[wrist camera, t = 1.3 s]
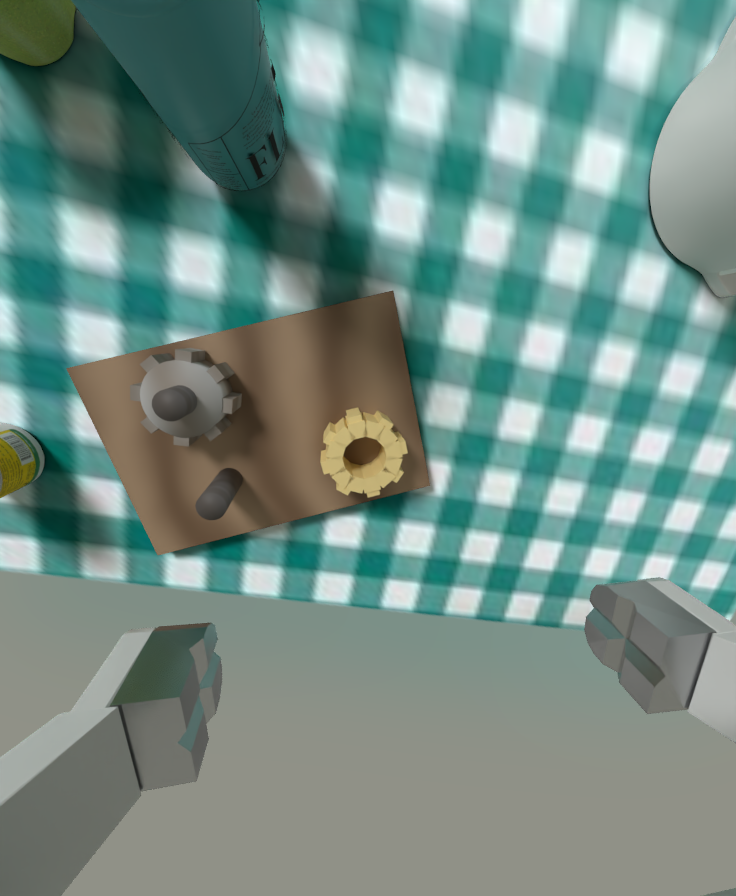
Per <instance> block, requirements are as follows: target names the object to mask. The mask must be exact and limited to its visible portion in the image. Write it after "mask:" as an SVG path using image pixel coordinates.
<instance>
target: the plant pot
mask: <svg viewBox="0 0 736 896" xmlns="http://www.w3.org/2000/svg"><path fill="white" fill-rule="evenodd" d="M75 10H76V6H75V5H74V4H73V2H72V1H71V0H0V54H2V55H4V56H6V57H9V58H11V59H13V60H16V61H19V62H22V63H25V64H28V65H32V66H42V65H47V64H50V63H52V62H54V61H56V60H58V59H59V58H61V57H62V56H63V55H64V54H65V53H66V51H67V50H68V49H69V47H70V46H71V44H72V41H73V27H74V15H75Z"/></svg>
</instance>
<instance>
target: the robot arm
mask: <svg viewBox="0 0 736 896" xmlns="http://www.w3.org/2000/svg"><path fill="white" fill-rule="evenodd" d="M650 203H651V210H652V215H653V219H654V223H655V226H656V229H657V231H658V233H659V235H660V237H661V239H662V241H663V243H664V244H665V246H666V247H667V248H668V249H669V251H670V252H671V253H672V254H673V255H674V256H675V257H677V258H678V259H679V260H680V261H682V262H683V263H685V264H687V265H689V266H691V267H693V268H694V269H696V270H697V271H699V272H700V273H701V274H702V275H703V277H704V278H705V280H706V282H707V284H708V285H709V287H710V288H711V290H712V291H713V292H714V294H715V295H717V296H718V297H722V298H724V297H729V296H734V295H736V17H735V18H734V20H733V22H732V23H731V25H730V27H729V29H728V31H727V33H726V35H725V37H724V39H723V41H722V43H721V45H720V47H719V49H718V51H717V53H716V55H715V56H714V57H713V59H712V60H711V61H710V62H709V64H708V65H707V66H706V67H705V68H704V69H703V70H702V71H701V72H700V73H699V74H698V75H697V76H696V77H695V79H694V80H693V81H692V82H691V83H690V84H689V85H688V86H687V88H686V89H685V90H684V92H683V93H682V94H681V96H680V97H679V99H678V100H677V102H676V103H675V105H674V107H673V108H672V110H671V112H670V114H669V116H668V118H667V119H666V122H665V124H664V126H663V128H662V131H661V133H660V136H659V139H658V142H657V145H656V149H655V152H654V157H653V161H652V167H651V175H650ZM590 602H591V604H592V605H593V607H594V609H593V610H592V611H591V612H590V613H589V614H588V616H587V617H586V622H585V629H584V630H585V634H586V637H587V641H588V644H589V646H590V648H591V649H592V651H593V653H594V654H595V655H596V657H597V658H598V659H599V660H600V661H601V663H602V664H604V665H606V666H607V667H609V668H611V669H613V670H614V671H616V672H618V678H619V683H620V684H621V685H622V686H623V687H624V688H625V690H626V691H627V692H628V693H629V694H630V695H631V696H632V697H633V699H634V700H635V701H636V702H637V703H638V704H639V705H640V706H641V708H642V709H643V710H644V711H645V712H646V713H647V714H651V713H659V712H669V711H677V710H686V709H688V713H690V714H692V715H693V716H695V717H696V718H698V719H699V720H701V721H702V722H704V723H705V724H707V725H708V726H710V727H711V728H713V729H714V730H716V731H718V732H719V733H720V734H722V735H724V736H725V737H727V738H728V739H730V740H731V741H733V742H734V743H736V625H735V624H733V623H732V622H730V621H729V620H727V619H726V618H724V617H723V616H721V615H720V614H718V613H717V612H715V611H714V610H712V609H711V608H709V607H708V606H706V605H705V604H703V603H702V602H700V601H699V600H698V599H696V598H695V597H693V596H692V595H690V594H689V593H687V592H686V591H684V590H683V589H681V588H680V587H678V586H677V585H675V584H674V583H672V582H671V581H669V580H666V579H663V578H660V577H658V578H650V579H642V580H637V581H628V582H619V583H609V584H600V585H596V586H595V587H594V588H593V590H592V591H591V596H590ZM217 640H218V638H217V633H216V628H215V625H214V624H213V623H202V624H188V625H175V626H161V627H158V628H156V627H155V628H141V629H131V630H129V631H128V632H126V633H125V634H123V635H122V637H121V638H120V640H119V641H118V642H117V644H116V645H115V647H114V648H113V650H112V651H111V653H110V654H109V656H108V657H107V659H106V660H105V662H104V663H103V665H102V666H101V667H100V669H99V671H98V672H97V673H96V675H95V677H94V678H93V679H92V681H91V682H90V684H89V685H88V687H87V688H86V690H85V691H84V693H83V694H82V695H81V697H80V698H79V700H78V701H77V703H76V704H75V706H74V707H73V709H72V710H71V712H67V713H60V714H59V715H57V716H56V717H55V718H53V719H52V720H50V721H49V722H48V723H47V724H45V725H44V726H42V727H41V728H40V729H38V730H37V731H36V732H34V733H33V734H32V735H30V736H29V737H27V738H26V739H25V740H23V741H22V742H21V743H19V744H18V745H17V746H15V747H14V748H13V749H11V750H10V751H8V752H7V753H6V754H5V755H3V756H2V757H0V896H61V895H62V894H63V892H64V891H65V890H66V889H67V888H68V886H69V885H70V884H71V883H72V881H73V880H74V879H75V878H76V876H77V875H78V874H79V873H80V871H81V870H82V869H83V868H84V866H85V865H86V864H87V863H88V861H89V860H90V859H91V857H92V856H93V855H94V854H95V852H96V851H97V850H98V849H99V847H100V846H101V845H102V843H103V842H104V841H105V840H106V839H107V837H108V836H109V835H110V834H111V832H112V831H113V830H114V829H115V827H116V826H117V825H118V824H119V822H120V821H121V820H122V819H123V817H124V816H125V815H126V814H127V812H128V811H129V810H130V809H131V807H132V806H133V805H134V804H135V802H136V801H137V800H138V799H139V797H140V796H141V791H146V790H152V789H157V788H163V787H168V786H174V785H179V784H185V783H190V782H196V781H197V778H198V775H199V771H200V767H201V764H202V761H203V757H204V753H205V750H206V746H207V743H208V739H209V738H208V732H207V726H206V724H207V722H208V721H209V720H210V719H211V718H212V717H213V716H214V715H215V714H216V711H217V707H218V702H219V699H220V693H221V685H222V664H221V658H220V657H219V656H218V655H217V654H216V653H215V652H214V649H215V646H216V643H217ZM702 896H736V888H734V889H729V890H725V891H721V892H716V893H711V894H707V895H702Z"/></svg>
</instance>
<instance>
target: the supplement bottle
mask: <svg viewBox="0 0 736 896" xmlns="http://www.w3.org/2000/svg"><path fill="white" fill-rule="evenodd" d="M44 459H45V457H44V453H43V451H42V448H41V446H40V445H39V443H38V442H37V440H36V439H35V438H34V437H33V436H32V435H30V434H29V433H28V432H27V431H25V430H23V429H21V428H19V427H17V426H14V425H11V424H7V423H0V498H2V497H4V496H6V495H8V494H10V493H12V492H14V491H16V490H18V489H20V488H22V487H24V486H26V485H28V484H30V483H32V482H33V481H35V480H36V479H37V478H38V477H39V476H40V475H41V473H42V471H43V468H44Z"/></svg>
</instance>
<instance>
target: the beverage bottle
mask: <svg viewBox="0 0 736 896" xmlns="http://www.w3.org/2000/svg"><path fill="white" fill-rule="evenodd" d="M71 1H72V2H73V4H74V5H75V6H76V8H77V9H78V10H79V11H80V13H81V14H82V15H83V17H84V18H85V19H86V20H87V22H88V23H89V24H90V26H91V27H92V28H93V29H94V31H95V32H96V33H97V35H98V36H99V37H100V39H101V40H102V41H103V42H104V44H105V45H106V46H107V48H108V49H109V50H110V51H111V53H112V54H113V55H114V57H115V58H116V59H117V60H118V62H119V63H120V64H121V66H122V67H123V68H124V70H125V71H126V72H127V73H128V75H129V76H130V77H131V79H132V80H133V81H134V82H135V84H136V85H137V86H138V88H139V90H141V91H142V93H143V94H144V95H145V97H146V98H147V100H148V101H149V103H150V105H151V106H152V107H153V108H154V110H155V112H157V113H156V114H158V115H159V116H160V119H162V120H163V122H164V123H165V125H166V127H168V128H167V129H170V130H169V131H171V132H172V134H173V135H172V137H173V136H174V137H176V138H175V139H177V140H178V141H179V143H180V144H181V145H182V146H181V147H183V149H185V150H186V152H187V153H188V154H189V156H190V157H191V158H192V160H193V161H194V162H195V164H196V165H197V166H198V167H199V168H200V170H201V171H202V172H203V173H204V174H205V175H206V176H208V177H209V178H210V179H212V180H213V181H215V182H216V184H217V183H218V184H220V185H222V186H225V187H228V188H231V189H236V190H234V191H239V190H243V191H247V190H252V189H256V188H258V187H260V186H262V185H264V184H265V183H267V182H268V181H269V180H270V179H271V178H272V176H273V175H275V174H276V173H277V172H276V171H278V170H277V169H278V167H279V165H280V163H281V159H282V157H283V152H284V149H285V148H284V145H285V144H286V143H285V142H286V141H285V131H284V124H283V122H284V120H282V113H281V111H280V110H281V109H282V112H283V107H282V103H281V99H280V96H279V100H278V97H277V93H276V88H275V84H274V80H275V75H276V74H275V70H274V67H273V64H272V67H271V66H270V61H269V57H268V52H267V48H266V44H267V43H265V42H266V40H267V39H266V38H265V39H266V40H265V39H264V36H265V35H264V31H263V30H262V25H261V21H260V10H259V12H258V7H257V3H256V0H71ZM257 1H258V2H259V0H257ZM260 7H261V6H260ZM261 9H262V8H261ZM263 17H264V16H263ZM264 27H265V25H264ZM267 46H268V45H267ZM268 48H269V47H268ZM270 60H271V59H270ZM271 62H272V61H271ZM275 83H276V82H275ZM135 84H134V85H135ZM276 86H277V85H276ZM277 90H278V89H277ZM141 91H140V92H141ZM138 92H139V91H138ZM142 93H141V94H142ZM139 94H140V93H139ZM144 95H143V96H144ZM278 95H279V93H278ZM145 97H144V98H145ZM145 100H146V99H145ZM146 102H147V101H146ZM279 104H280V106H281V107H280V106H279ZM155 112H154V113H155ZM158 115H157V116H158ZM283 115H284V112H283ZM284 119H285V118H284ZM162 120H161V121H162ZM163 122H162V123H163ZM171 132H169V133H171ZM174 141H175V140H174ZM286 146H287V144H286ZM181 149H182V148H181ZM285 151H286V150H285ZM185 155H187V154H185ZM284 155H285V154H284ZM283 159H284V158H283ZM281 164H282V163H281ZM280 166H281V165H280ZM279 168H280V167H279ZM275 172H276V173H275ZM218 184H217V185H218ZM220 187H221V186H220ZM225 189H227V188H225ZM229 190H230V189H229Z"/></svg>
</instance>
